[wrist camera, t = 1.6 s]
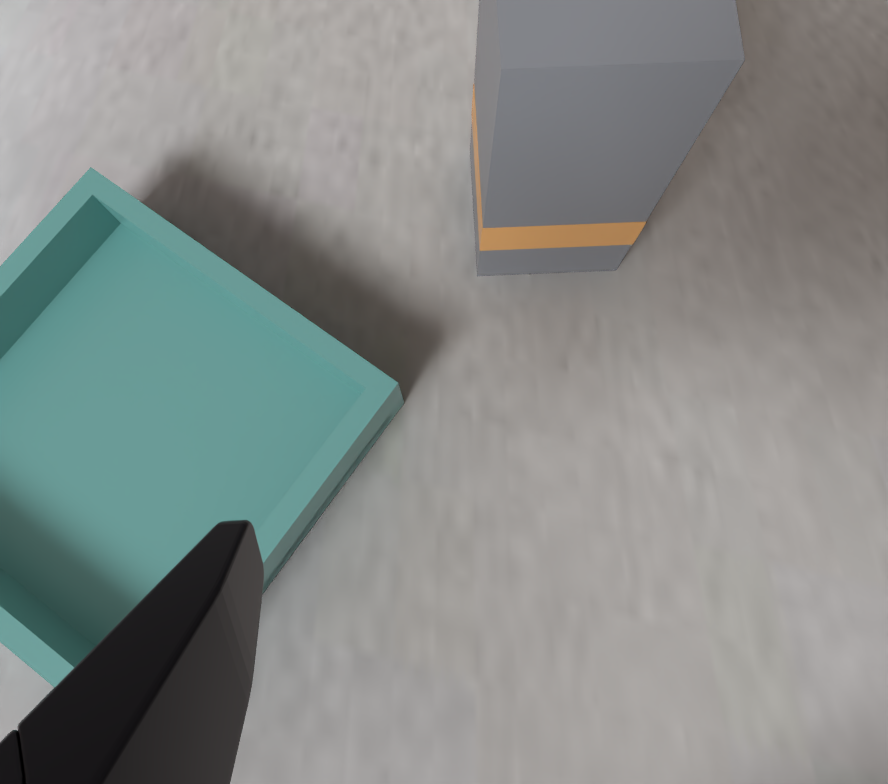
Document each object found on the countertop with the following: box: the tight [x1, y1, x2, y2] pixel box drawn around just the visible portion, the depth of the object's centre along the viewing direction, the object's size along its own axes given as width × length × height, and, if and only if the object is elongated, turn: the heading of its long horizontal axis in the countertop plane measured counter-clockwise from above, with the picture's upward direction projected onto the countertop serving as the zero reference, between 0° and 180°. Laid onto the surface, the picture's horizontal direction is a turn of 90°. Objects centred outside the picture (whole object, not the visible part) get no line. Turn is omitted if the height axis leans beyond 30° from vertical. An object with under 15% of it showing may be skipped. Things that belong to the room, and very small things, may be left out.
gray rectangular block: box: [470, 0, 745, 276], centre depth 20 cm, size 5×5×11 cm
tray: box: [0, 168, 404, 687], centre depth 22 cm, size 12×12×3 cm
